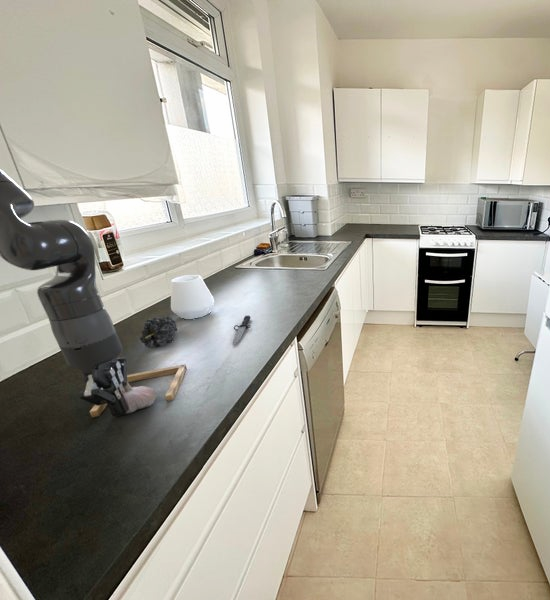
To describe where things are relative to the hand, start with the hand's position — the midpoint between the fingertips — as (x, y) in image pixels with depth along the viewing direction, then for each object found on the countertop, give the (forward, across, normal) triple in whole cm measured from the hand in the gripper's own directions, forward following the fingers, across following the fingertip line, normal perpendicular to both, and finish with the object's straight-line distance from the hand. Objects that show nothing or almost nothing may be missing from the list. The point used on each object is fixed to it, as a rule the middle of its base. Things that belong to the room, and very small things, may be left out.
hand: (121, 413), depth 62 cm
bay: (+2, -11, 0) cm, 11 cm away
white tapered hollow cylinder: (+2, -58, +1) cm, 58 cm away
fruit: (+2, -39, -3) cm, 40 cm away
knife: (+3, -36, +18) cm, 40 cm away
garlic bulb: (+3, -5, 0) cm, 6 cm away
